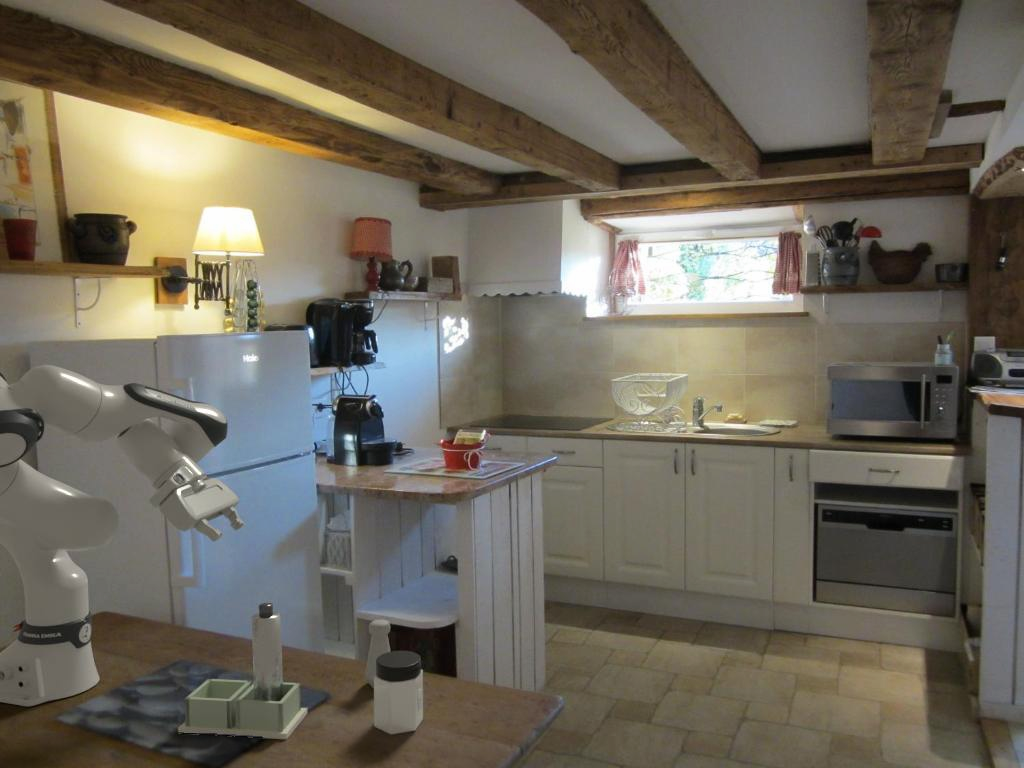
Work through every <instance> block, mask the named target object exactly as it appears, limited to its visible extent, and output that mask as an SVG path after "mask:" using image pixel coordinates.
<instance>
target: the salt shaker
mask: <svg viewBox="0 0 1024 768" xmlns="http://www.w3.org/2000/svg"><path fill="white" fill-rule="evenodd" d="M368 631H369V634H370V635H371V636H370V637H371V638H370V645H369V649H368V655H367V661H366V667H365V672H364V673H365V679H366V680H367V682H368V684H369V685H370V687H371V688H372V689H374V676H375V675H376V659H377V658H378V657H379V656H380V655H382V654H384V653H387V652H391V647H390V642H389V641H390V640H389V636H388V634H390V632H391V624H390V621H388V620H386V619H374V620H372V621H371V622H370V623H369V624H368Z"/></svg>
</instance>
